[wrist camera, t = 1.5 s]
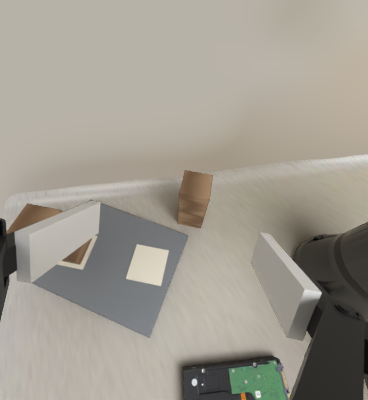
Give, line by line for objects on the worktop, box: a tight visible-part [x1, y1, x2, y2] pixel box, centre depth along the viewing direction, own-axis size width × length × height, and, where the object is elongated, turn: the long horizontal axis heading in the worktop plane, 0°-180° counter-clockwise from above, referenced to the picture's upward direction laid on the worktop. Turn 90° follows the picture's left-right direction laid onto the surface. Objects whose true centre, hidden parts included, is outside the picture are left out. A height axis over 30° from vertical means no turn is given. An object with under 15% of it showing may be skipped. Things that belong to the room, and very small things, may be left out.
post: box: [178, 170, 213, 228], centre depth 37 cm, size 5×5×12 cm
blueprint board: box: [32, 200, 188, 338], centre depth 36 cm, size 23×18×1 cm
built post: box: [6, 204, 92, 265], centre depth 30 cm, size 5×5×12 cm
